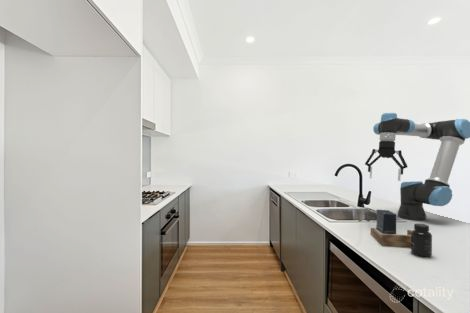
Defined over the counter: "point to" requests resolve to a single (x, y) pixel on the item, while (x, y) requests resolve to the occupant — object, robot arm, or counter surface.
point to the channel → (392, 239)
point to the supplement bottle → (421, 241)
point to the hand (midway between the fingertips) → (384, 179)
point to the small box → (386, 222)
